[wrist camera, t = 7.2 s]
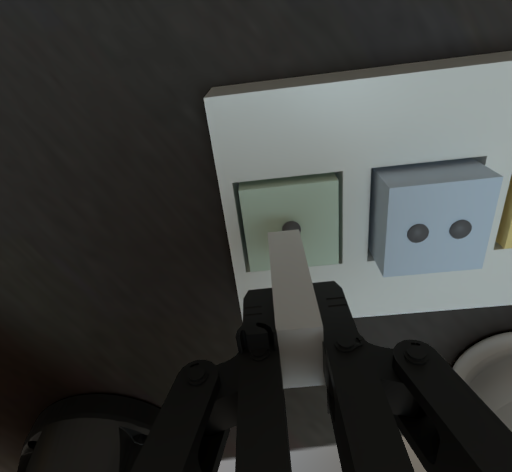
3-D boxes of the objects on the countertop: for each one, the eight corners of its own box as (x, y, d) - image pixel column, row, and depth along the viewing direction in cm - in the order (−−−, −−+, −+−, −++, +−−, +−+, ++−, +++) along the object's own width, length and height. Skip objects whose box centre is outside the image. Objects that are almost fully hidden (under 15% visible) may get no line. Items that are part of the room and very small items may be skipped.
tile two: (368, 247, 22) (383, 278, 19) (371, 166, 19) (390, 189, 16) (454, 239, 21) (483, 269, 19) (469, 156, 19) (504, 177, 16)
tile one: (251, 244, 23) (250, 272, 21) (240, 170, 21) (238, 191, 18) (329, 237, 23) (339, 264, 20) (328, 161, 21) (338, 181, 18)
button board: (245, 292, 26) (243, 326, 23) (211, 87, 20) (203, 97, 17) (546, 266, 25) (586, 298, 22) (623, 36, 18) (696, 38, 15)
